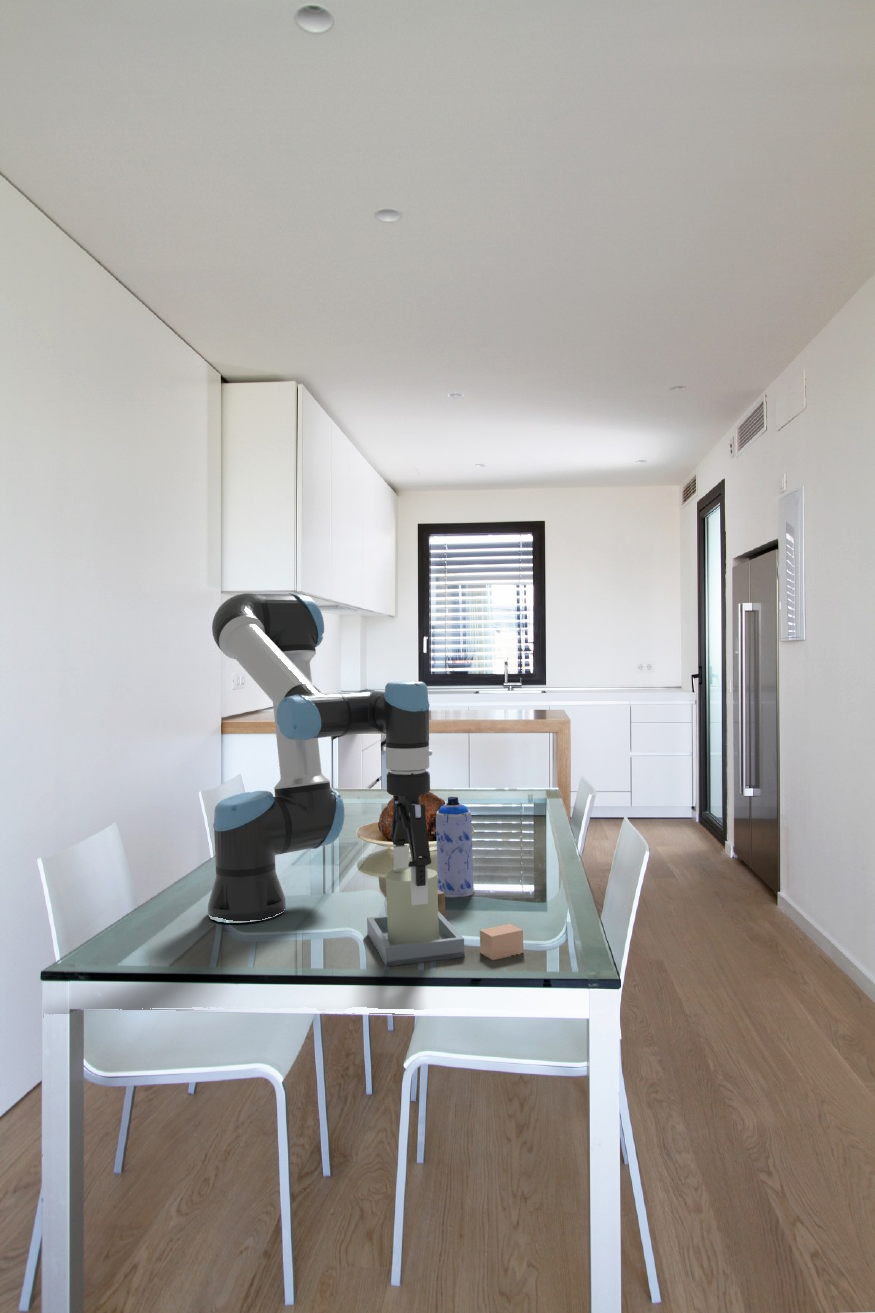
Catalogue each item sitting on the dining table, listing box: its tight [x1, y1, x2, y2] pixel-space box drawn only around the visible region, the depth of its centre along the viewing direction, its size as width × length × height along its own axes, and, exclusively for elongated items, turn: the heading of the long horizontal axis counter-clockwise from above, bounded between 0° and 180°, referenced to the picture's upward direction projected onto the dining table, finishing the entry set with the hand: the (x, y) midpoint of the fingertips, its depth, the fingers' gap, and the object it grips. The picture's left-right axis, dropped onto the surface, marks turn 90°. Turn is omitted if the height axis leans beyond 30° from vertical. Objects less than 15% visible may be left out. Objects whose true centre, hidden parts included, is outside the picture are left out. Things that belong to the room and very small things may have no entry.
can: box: [384, 867, 440, 945], centre depth 148 cm, size 9×9×12 cm
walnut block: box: [437, 889, 447, 920], centre depth 164 cm, size 5×5×5 cm
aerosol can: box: [435, 796, 476, 898], centre depth 181 cm, size 8×8×20 cm
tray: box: [366, 911, 466, 968], centre depth 148 cm, size 17×13×3 cm
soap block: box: [479, 923, 525, 961], centre depth 143 cm, size 6×4×4 cm, turn 117°
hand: (410, 892), depth 149 cm, fingers open, 13 cm apart
